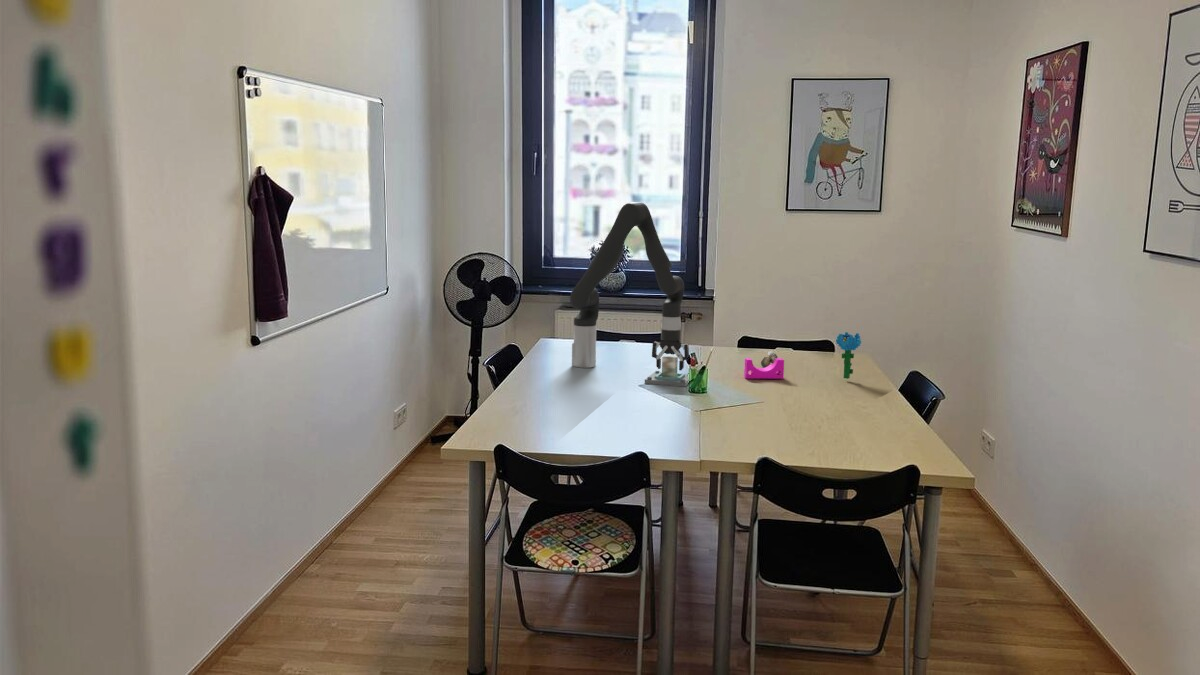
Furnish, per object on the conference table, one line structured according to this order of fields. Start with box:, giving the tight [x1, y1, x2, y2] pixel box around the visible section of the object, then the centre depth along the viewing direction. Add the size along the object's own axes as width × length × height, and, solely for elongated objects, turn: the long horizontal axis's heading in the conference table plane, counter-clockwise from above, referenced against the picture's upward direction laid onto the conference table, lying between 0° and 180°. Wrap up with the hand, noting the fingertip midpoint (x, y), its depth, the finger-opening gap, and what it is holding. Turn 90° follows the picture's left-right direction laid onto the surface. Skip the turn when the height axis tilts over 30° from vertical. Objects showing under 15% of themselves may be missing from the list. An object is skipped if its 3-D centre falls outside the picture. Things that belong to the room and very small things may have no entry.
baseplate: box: [644, 370, 690, 387], centre depth 350 cm, size 16×16×2 cm
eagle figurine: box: [760, 350, 779, 368], centre depth 382 cm, size 8×7×9 cm
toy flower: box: [835, 331, 862, 380], centre depth 359 cm, size 9×9×18 cm
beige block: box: [661, 354, 679, 378], centre depth 349 cm, size 5×5×8 cm
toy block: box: [743, 357, 785, 380], centre depth 361 cm, size 15×6×8 cm, turn 93°
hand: (670, 369), depth 349 cm, fingers open, 8 cm apart
